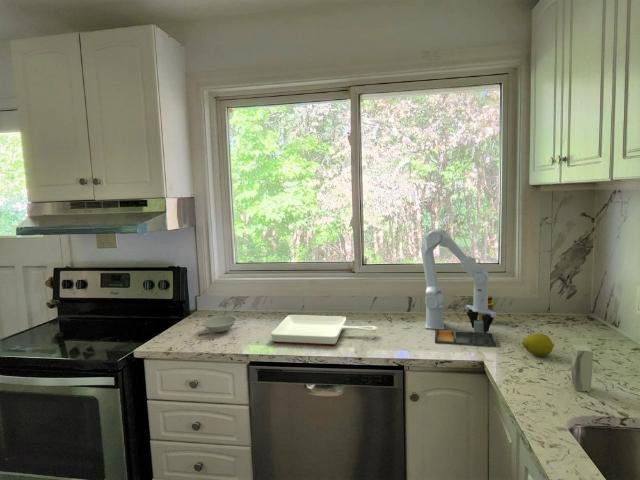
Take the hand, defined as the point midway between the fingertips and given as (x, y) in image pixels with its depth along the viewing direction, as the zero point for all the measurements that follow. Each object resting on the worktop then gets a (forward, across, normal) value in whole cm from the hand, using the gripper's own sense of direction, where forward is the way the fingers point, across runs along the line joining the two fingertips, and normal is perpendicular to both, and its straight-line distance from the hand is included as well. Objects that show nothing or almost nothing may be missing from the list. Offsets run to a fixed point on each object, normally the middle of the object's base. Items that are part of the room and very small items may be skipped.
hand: (480, 329), depth 180 cm
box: (+2, +51, -16) cm, 53 cm away
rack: (+1, +3, -13) cm, 13 cm away
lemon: (+2, +28, -3) cm, 29 cm away
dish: (+2, -66, -94) cm, 115 cm away
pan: (+2, -35, -56) cm, 65 cm away
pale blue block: (+1, 0, 0) cm, 1 cm away
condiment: (+2, -9, +14) cm, 16 cm away
